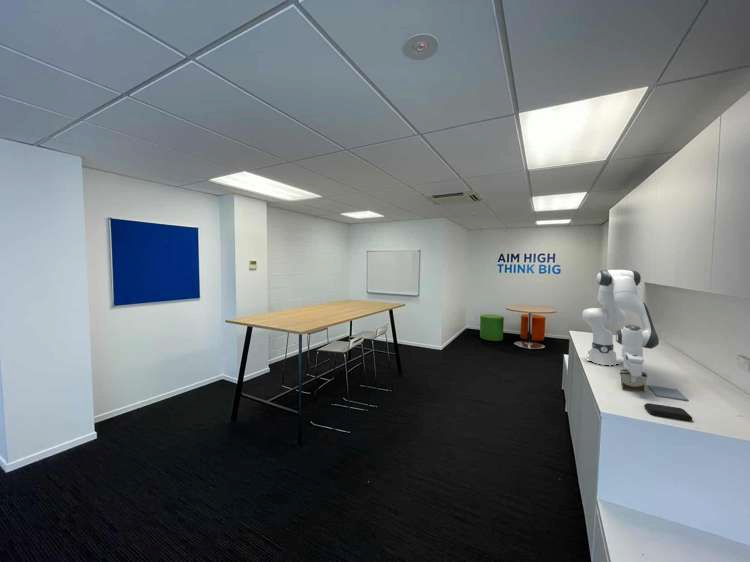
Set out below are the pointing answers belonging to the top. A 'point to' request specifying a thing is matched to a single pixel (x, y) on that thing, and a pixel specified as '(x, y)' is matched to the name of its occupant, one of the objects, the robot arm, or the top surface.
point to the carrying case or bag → (668, 412)
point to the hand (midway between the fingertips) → (631, 379)
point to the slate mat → (667, 393)
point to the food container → (630, 385)
